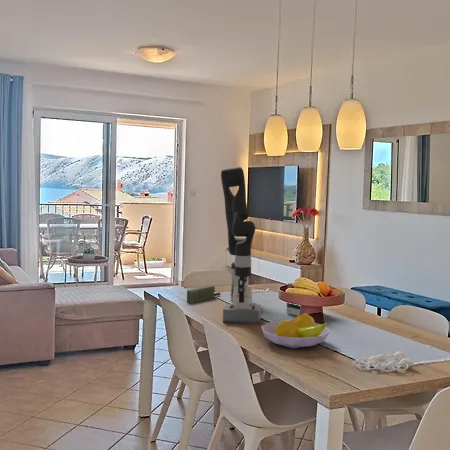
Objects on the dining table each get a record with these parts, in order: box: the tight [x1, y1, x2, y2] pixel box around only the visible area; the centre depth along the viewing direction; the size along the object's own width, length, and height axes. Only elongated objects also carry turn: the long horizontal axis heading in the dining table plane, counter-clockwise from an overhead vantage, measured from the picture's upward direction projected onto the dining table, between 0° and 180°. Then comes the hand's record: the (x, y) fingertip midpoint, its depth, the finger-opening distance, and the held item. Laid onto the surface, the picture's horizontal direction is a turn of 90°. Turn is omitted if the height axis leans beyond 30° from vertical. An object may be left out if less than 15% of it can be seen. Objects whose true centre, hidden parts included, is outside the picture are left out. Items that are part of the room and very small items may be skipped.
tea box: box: [285, 281, 318, 317], centre depth 270 cm, size 15×10×15 cm, turn 131°
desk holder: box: [222, 303, 262, 325], centre depth 256 cm, size 12×16×6 cm
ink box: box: [232, 286, 253, 309], centre depth 256 cm, size 9×5×15 cm, turn 84°
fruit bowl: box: [261, 313, 331, 349], centre depth 220 cm, size 28×27×11 cm
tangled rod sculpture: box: [352, 350, 415, 373], centre depth 193 cm, size 19×14×4 cm
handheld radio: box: [186, 284, 221, 304], centre depth 300 cm, size 7×3×25 cm
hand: (242, 300), depth 255 cm, fingers open, 8 cm apart
